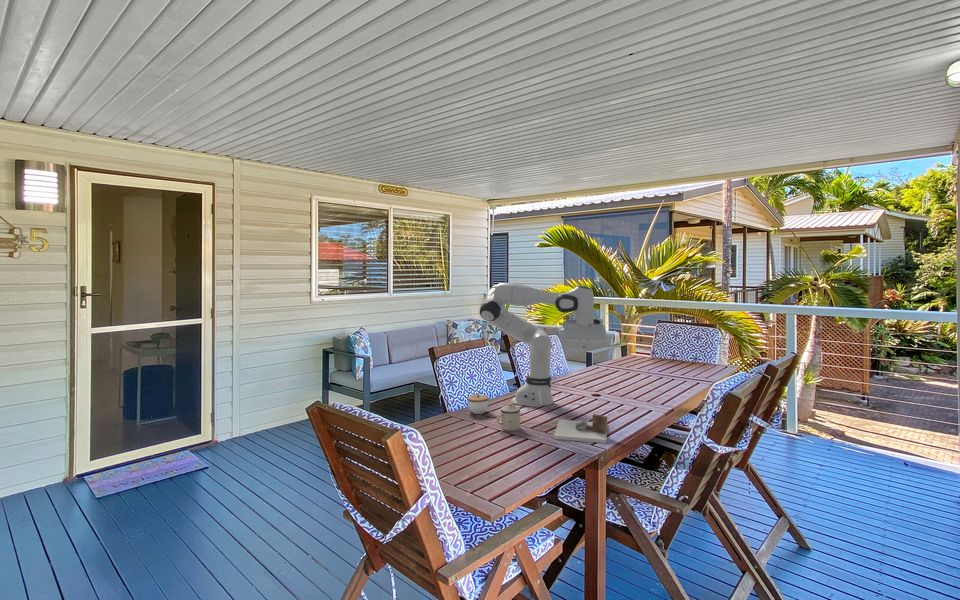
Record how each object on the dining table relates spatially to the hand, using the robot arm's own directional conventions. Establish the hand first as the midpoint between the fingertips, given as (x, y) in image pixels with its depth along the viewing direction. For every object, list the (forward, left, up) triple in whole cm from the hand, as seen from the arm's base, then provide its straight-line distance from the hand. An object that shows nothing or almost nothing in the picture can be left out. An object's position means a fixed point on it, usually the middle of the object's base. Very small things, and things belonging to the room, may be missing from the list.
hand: (584, 348), depth 242 cm
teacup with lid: (-33, -23, -34) cm, 53 cm away
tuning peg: (+4, -22, -32) cm, 39 cm away
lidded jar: (-53, -2, -34) cm, 63 cm away
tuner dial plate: (0, -21, -34) cm, 40 cm away
